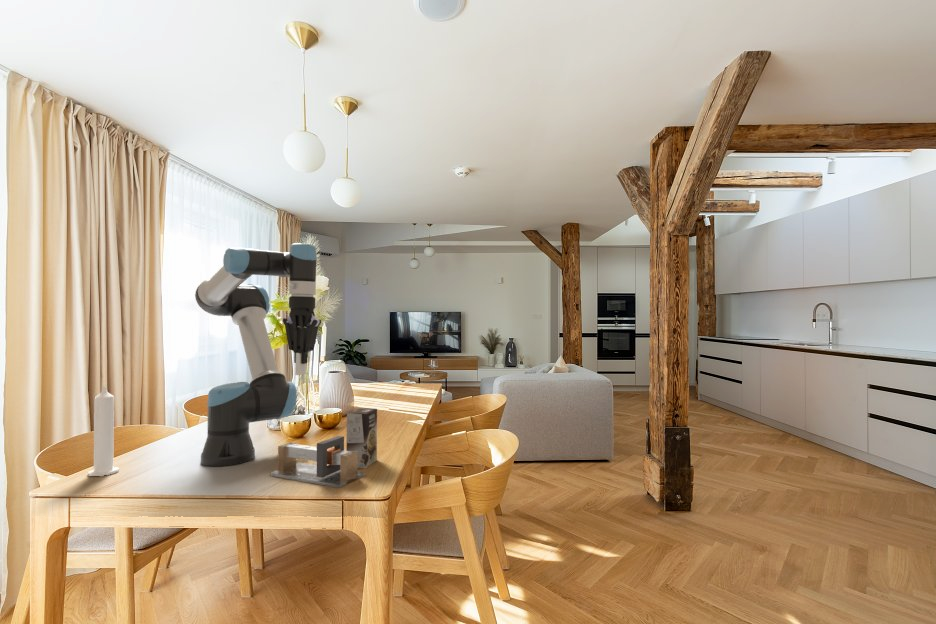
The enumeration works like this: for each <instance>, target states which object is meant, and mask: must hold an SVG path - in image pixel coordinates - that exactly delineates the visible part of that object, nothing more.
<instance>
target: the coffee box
mask: <svg viewBox="0 0 936 624" xmlns="http://www.w3.org/2000/svg"><path fill="white" fill-rule="evenodd" d="M345 449H346V450H345V451H358V469H367V468H368V467H369V466H370V465H372V464H373V463H375V462H376V461H378V460H377V459H378V408H372V407H367V408H357V409H354V410H352V411H349V412H346V448H345Z"/></svg>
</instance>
